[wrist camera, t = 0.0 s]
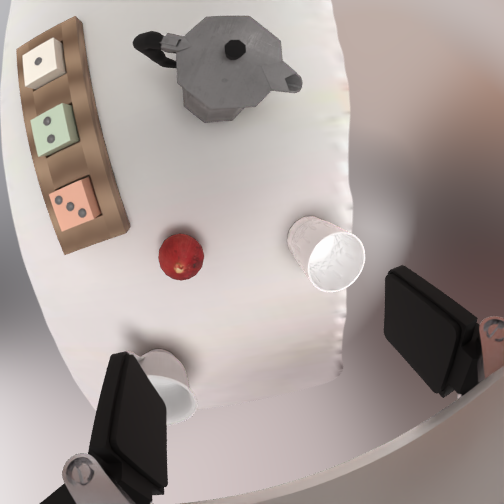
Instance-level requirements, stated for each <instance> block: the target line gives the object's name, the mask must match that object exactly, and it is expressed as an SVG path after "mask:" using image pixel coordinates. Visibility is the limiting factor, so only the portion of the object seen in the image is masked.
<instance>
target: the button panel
mask: <svg viewBox="0 0 504 504" xmlns="http://www.w3.org/2000/svg"><path fill="white" fill-rule="evenodd" d="M53 37H54V38H55V39H56V40H58V41H59V42H61V43H62V44H63V51H64V59H65V67H66V74H64V75H62V76H60V77H58V78H56V79H55V80H53V81H51V82H49V83H47V84H45V85H44V86H42V87H40V88H38V89H37V90H36V89H32V88H29V87H25V81H24V71H23V58H22V56H23V55H24V54H26V53H27V52H29V51H31V50H32V49H34V48H36V47H37V46H39V45H41V44H42V43H44V42H46V41H48V40H49V39H51V38H53ZM17 67H18V79H19V88H20V96H21V103H22V110H23V116H24V122H25V127H26V132H27V137H28V142H29V146H30V151H31V155H32V159H33V163H34V167H35V171H36V174H37V178H38V181H39V185H40V188H41V191H42V195H43V198H44V201H45V204H46V207H47V210H48V213H49V216H50V219H51V221H52V224H53V227H54V230H55V232H56V235H57V237H58V240H59V242H60V245H61V247H62V250H63V252H64V255H66V254H69V253H72V252H74V251H77V250H80V249H82V248H85V247H88V246H91V245H93V244H96V243H99V242H102V241H105V240H108V239H111V238H113V237H116V236H119V235H122V234H125V233H127V231H128V230H129V228H130V224H129V221H128V218H127V215H126V212H125V209H124V206H123V203H122V200H121V197H120V194H119V191H118V187H117V184H116V181H115V178H114V174H113V171H112V167H111V164H110V160H109V157H108V153H107V150H106V146H105V142H104V138H103V134H102V130H101V126H100V122H99V118H98V113H97V109H96V104H95V99H94V95H93V90H92V85H91V79H90V74H89V68H88V62H87V56H86V49H85V42H84V34H83V25H82V22H81V21H80V20H79V19H78V18H77V17H76V16H74V17H72V18H70V19H68V20H66V21H64V22H62V23H60V24H58V25H56V26H55V27H53V28H51V29H49V30H47V31H45V32H44V33H42V34H40V35H38V36H37V37H35V38H33V39H32V40H30V41H29V42H27V43H25V44H24V45H22V46H21V47H19V48H18V49H17ZM61 103H64V104H68V105H71V106H72V107H73V112H74V117H75V121H76V126H77V130H78V134H79V138H80V141H78V142H76V143H73V144H71V145H69V146H67V147H65V148H63V149H61V150H59V151H57V152H55V153H53V154H51V155H48V156H41V157H38V154H37V150H36V145H35V141H34V136H33V131H32V126H31V121H30V120H32V119H34V118H36V117H37V116H39V115H41V114H43V113H44V112H46V111H48V110H50V109H52V108H54V107H56V106H57V105H59V104H61ZM87 177H90V179H91V182H92V185H93V188H94V192H95V195H96V198H97V201H98V204H99V207H100V210H101V214H99V215H98V216H97V217H96V218H95V219H93V220H90V221H87V222H85V223H82V224H80V225H77V226H75V227H72V228H70V229H67V230H65V231H61V228H60V226H59V223H58V220H57V217H56V214H55V212H54V209H53V206H52V203H51V200H50V196H49V194H51V193H53V192H55V191H57V190H59V189H61V188H64V187H66V186H68V185H70V184H72V183H75V182H77V181H79V180H82V179H85V178H87Z"/></svg>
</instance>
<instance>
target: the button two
mask: <svg viewBox="0 0 504 504" xmlns="http://www.w3.org/2000/svg"><path fill="white" fill-rule="evenodd" d="M30 121H31V126H32V131H33V136H34V141H35V145H36V150H37V154H38V157H41V156H48V155H51V154H53V153H55V152H57V151H59V150H61V149H63V148H65V147H67V146H69V145H71V144H73V143H76V142H78V141H80V138H79V134H78V130H77V126H76V121H75V117H74V112H73V107H72V106H71V105H68V104H64V103H61V104H59V105H57V106H56V107H54V108H52V109H50V110H48V111H46V112H44V113H43V114H41V115H39V116H37V117H36V118H34V119H32V120H30Z"/></svg>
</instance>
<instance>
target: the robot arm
mask: <svg viewBox="0 0 504 504" xmlns="http://www.w3.org/2000/svg"><path fill="white" fill-rule="evenodd" d="M476 322H477V317H475V316H474V315H472V314H471V313H470V312H469V311H467V310H466V309H465V308H463V307H462V306H461V305H459V304H458V303H457V302H455V301H454V300H453V299H451V298H450V297H449V296H447V295H446V294H444V293H443V292H442V291H440V290H439V289H437V288H436V287H434V286H433V285H432V284H430V283H429V282H427V281H426V280H425V279H423V278H422V277H420V276H419V275H417V274H416V273H414V272H413V271H411V270H410V269H408V268H407V267H405V266H403V265H402V266H399V267H396V268H394V269H391V270H390V271H389V272H388V275H387V276H386V278H385V319H384V334H385V337H386V339H387V340H388V341H389V342H390V343H391V344H392V345H393V346H394V347H395V349H396V350H397V351H398V352H399V353H400V354H401V355H402V357H403V358H404V359H405V360H406V361H407V362H408V363H409V364H410V366H411V367H412V368H413V369H414V370H415V371H416V372H417V373H418V375H419V376H420V377H421V378H422V379H423V380H424V381H425V383H426V384H427V385H428V386H429V387H430V388H431V390H432V391H433V392H435V393H439V394H440V395H441V396H442V397H443V398H444V397H445V396H447V395H448V394H450V393H451V392H453V391H454V390H455V391H456V392H457V393H458V396H457V397H458V398H457V400H456V401H455V402H453V403H452V404H450V405H449V406H447V407H446V408H444V409H443V410H441V411H440V412H438V413H437V414H435V415H434V416H432V417H431V418H429V419H428V420H426V421H424V422H423V423H421V424H420V425H418V426H416V427H415V428H413V429H411V430H409V431H408V432H406V433H404V434H402V435H400V436H399V437H397V438H395V439H393V440H391V441H389V442H387V443H385V444H383V445H381V446H379V447H378V448H375V449H373V450H372V451H369V452H367V453H365V454H363V455H360V456H358V457H356V458H354V459H352V460H349V461H347V462H344V463H342V464H340V465H337V466H334V467H332V468H329V469H327V470H324V471H321V472H319V473H316V474H313V475H310V476H307V477H305V478H301V479H298V480H295V481H292V482H288V483H285V484H281V485H278V486H274V487H270V488H267V489H263V490H259V491H254V492H250V493H246V494H241V495H236V496H231V497H225V498H219V499H213V500H206V501H198V502H190V503H182V504H504V318H501V317H497V316H492V317H488V318H485V319H484V320H483V321H482V322H481V324H480V325H479V324H478V323H476ZM166 427H167V409H166V405H165V403H164V401H163V399H162V398H161V396H160V395H159V394H158V392H157V391H156V389H155V388H154V386H153V385H152V383H151V382H150V380H149V378H148V377H147V375H146V374H145V372H144V371H143V369H142V367H141V366H140V364H139V363H138V361H137V359H136V358H135V356H134V355H132V354H131V355H130V354H129V353H128V352H121V353H116V354H112V355H111V357H110V360H109V364H108V367H107V371H106V375H105V379H104V382H103V386H102V390H101V394H100V398H99V403H98V407H97V411H96V416H95V420H94V425H93V430H92V435H91V440H90V446H89V452H88V454H84V453H80V454H76V455H74V456H72V457H71V458H70V459H69V460H68V461H67V462H66V463H65V465H64V468H63V471H62V476H63V480H64V484H63V485H62V486H61V487H59V488H58V489H57V490H56V491H55V492H53V493H52V494H51V495H50V496H49V497H47V498H46V499H45V500H44V501H43V502H41V503H40V504H153V503H152V495H164V487H166V486H167V485H168V478H167V445H166V444H167V432H166V430H167V428H166Z"/></svg>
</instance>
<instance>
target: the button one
mask: <svg viewBox="0 0 504 504" xmlns="http://www.w3.org/2000/svg"><path fill="white" fill-rule="evenodd" d="M22 58H23V71H24V81H25V87H29V88H32V89H36V90H37V89H38V88H40V87H42V86H44V85H45V84H47V83H49V82H51V81H53V80H55V79H56V78H58V77H60V76H62V75H64V74H66V67H65V59H64V51H63V44H62V43H61V42H59V41H58V40H56V39H55V38H54V37H53V38H51V39H49V40H48V41H46V42H44V43H42V44H41V45H39V46H37V47H36V48H34V49H32V50H31V51H29V52H27V53H26V54H24V55H23V56H22Z"/></svg>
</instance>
